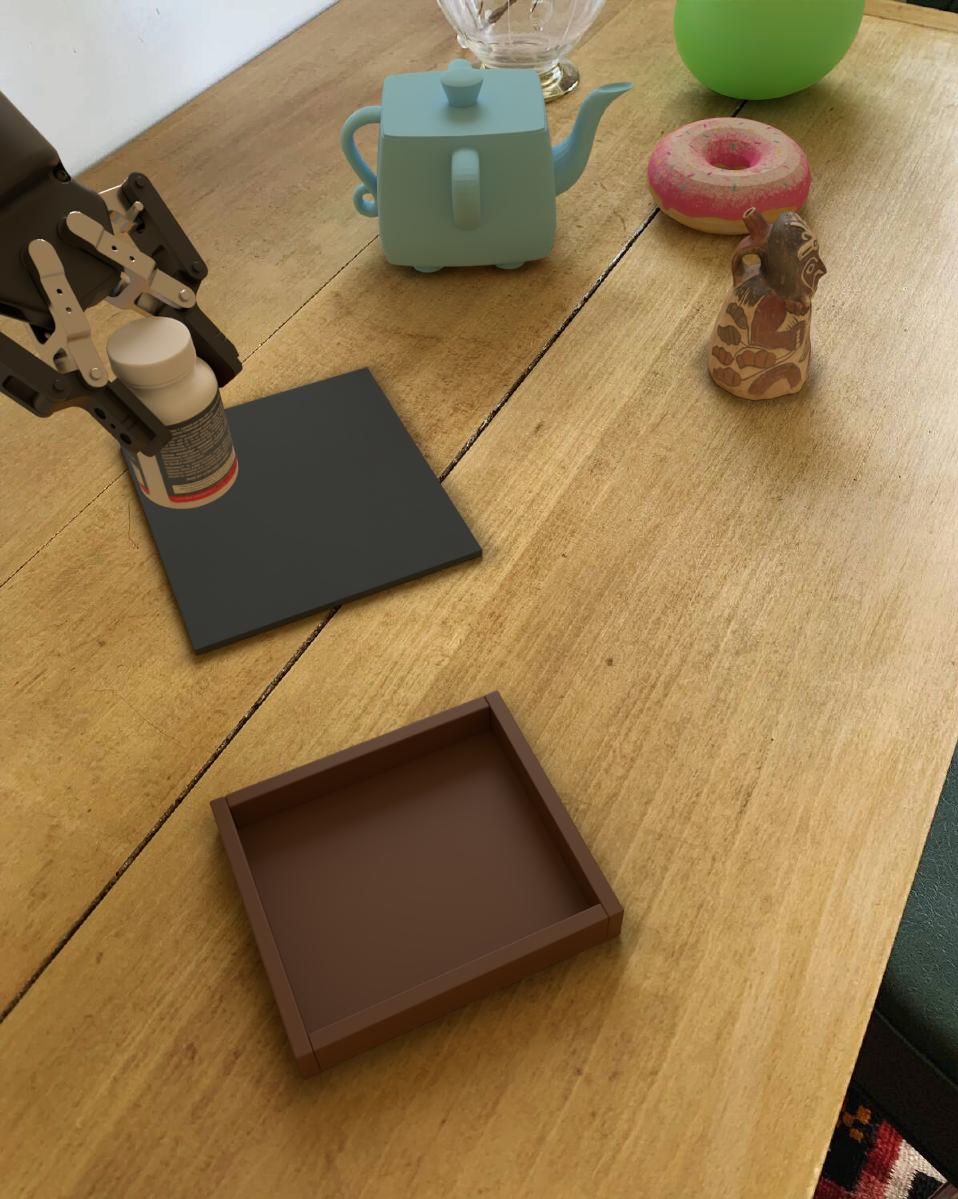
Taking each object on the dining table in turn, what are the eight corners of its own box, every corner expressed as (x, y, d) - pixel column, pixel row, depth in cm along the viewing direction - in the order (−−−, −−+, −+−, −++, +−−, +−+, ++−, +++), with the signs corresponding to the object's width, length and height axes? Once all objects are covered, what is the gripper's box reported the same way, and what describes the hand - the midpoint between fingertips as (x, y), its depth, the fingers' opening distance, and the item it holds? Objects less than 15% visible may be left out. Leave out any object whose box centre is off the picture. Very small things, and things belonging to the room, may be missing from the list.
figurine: (787, 412, 76) (824, 257, 67) (690, 382, 78) (712, 228, 69) (820, 355, 80) (859, 201, 71) (726, 328, 82) (752, 175, 73)
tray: (304, 1080, 48) (295, 1060, 46) (219, 826, 56) (208, 800, 54) (620, 934, 52) (624, 910, 50) (498, 716, 60) (497, 689, 58)
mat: (196, 655, 63) (194, 650, 63) (120, 445, 75) (118, 439, 75) (483, 555, 68) (482, 549, 67) (367, 371, 80) (367, 366, 80)
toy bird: (762, 149, 99) (793, -29, 88) (623, 88, 108) (635, -81, 96) (880, 82, 107) (922, -89, 96) (741, 31, 115) (765, -132, 104)
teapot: (453, 325, 83) (445, 154, 73) (325, 238, 92) (302, 72, 81) (624, 235, 91) (638, 68, 81) (491, 161, 99) (489, 1, 89)
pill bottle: (257, 459, 60) (226, 321, 54) (205, 523, 57) (165, 385, 50) (175, 435, 62) (134, 298, 55) (120, 495, 59) (69, 358, 52)
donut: (691, 262, 88) (699, 204, 84) (615, 183, 96) (619, 127, 92) (836, 224, 91) (850, 166, 87) (751, 150, 99) (760, 95, 95)
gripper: (-192, 158, 43) (137, 479, 48) (57, 15, 51) (314, 302, 56) (-220, 249, 48) (77, 527, 54) (8, 107, 57) (246, 360, 62)
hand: (197, 410), depth 55 cm, fingers closed on pill bottle, 5 cm apart
